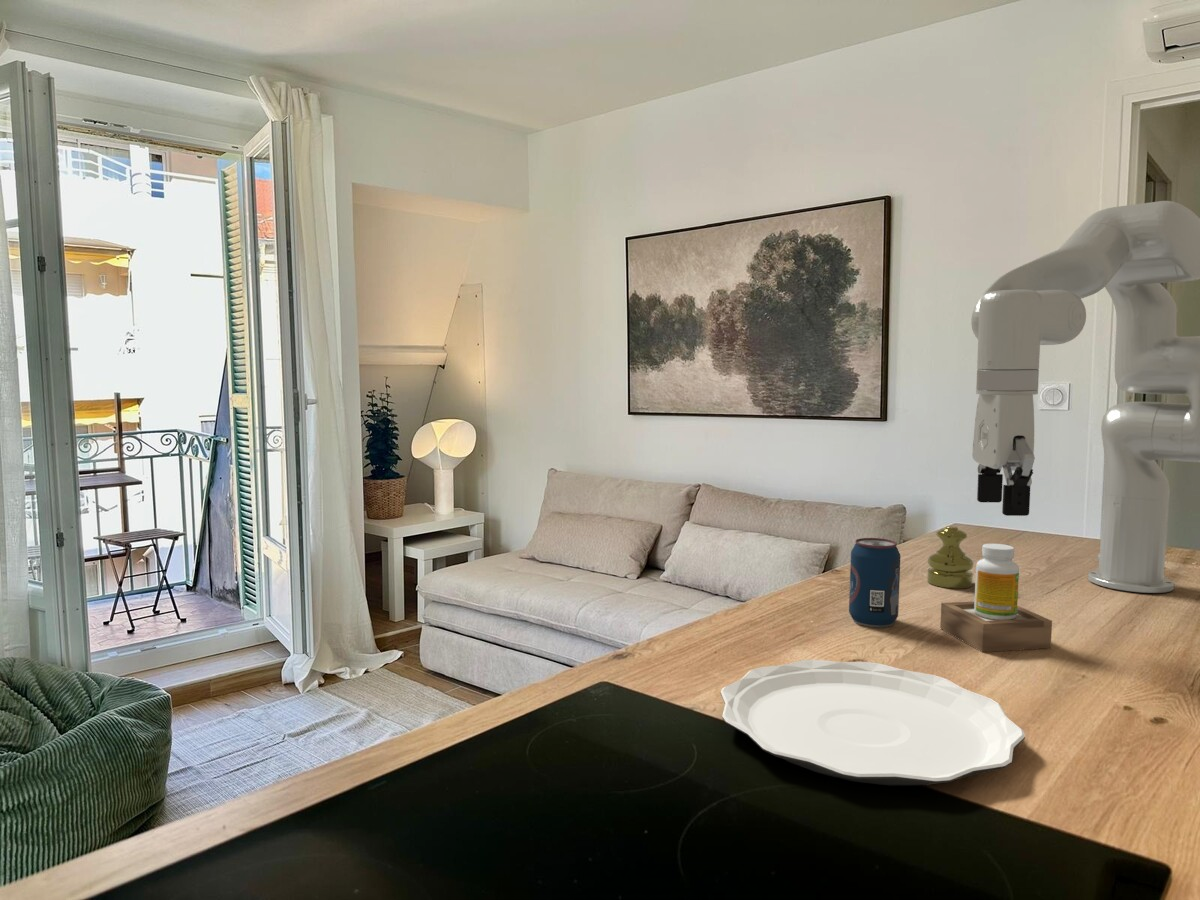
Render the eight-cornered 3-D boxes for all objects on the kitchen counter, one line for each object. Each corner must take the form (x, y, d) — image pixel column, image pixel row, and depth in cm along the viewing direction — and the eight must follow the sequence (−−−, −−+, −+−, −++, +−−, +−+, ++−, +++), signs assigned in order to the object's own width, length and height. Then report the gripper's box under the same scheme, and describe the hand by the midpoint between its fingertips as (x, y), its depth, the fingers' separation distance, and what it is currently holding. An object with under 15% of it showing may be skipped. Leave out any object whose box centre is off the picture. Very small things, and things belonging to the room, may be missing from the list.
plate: (843, 833, 68) (844, 805, 68) (671, 701, 95) (671, 681, 95) (1090, 766, 80) (1091, 742, 80) (875, 665, 107) (876, 647, 107)
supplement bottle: (1021, 622, 114) (1025, 551, 113) (979, 619, 115) (982, 549, 114) (1010, 610, 119) (1013, 543, 118) (969, 608, 120) (972, 541, 119)
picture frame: (940, 628, 121) (941, 602, 121) (1003, 625, 122) (1005, 600, 122) (982, 652, 111) (983, 624, 111) (1050, 648, 113) (1052, 620, 112)
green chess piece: (981, 585, 145) (984, 528, 144) (956, 591, 141) (958, 533, 140) (943, 576, 151) (945, 521, 150) (917, 582, 147) (920, 526, 146)
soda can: (846, 613, 128) (849, 536, 127) (894, 616, 127) (897, 538, 126) (850, 627, 122) (853, 545, 120) (901, 630, 120) (904, 547, 119)
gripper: (957, 381, 122) (953, 497, 124) (1001, 386, 105) (996, 520, 107) (1011, 380, 121) (1007, 497, 123) (1064, 385, 104) (1058, 521, 106)
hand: (1001, 508), depth 115 cm, fingers open, 9 cm apart
